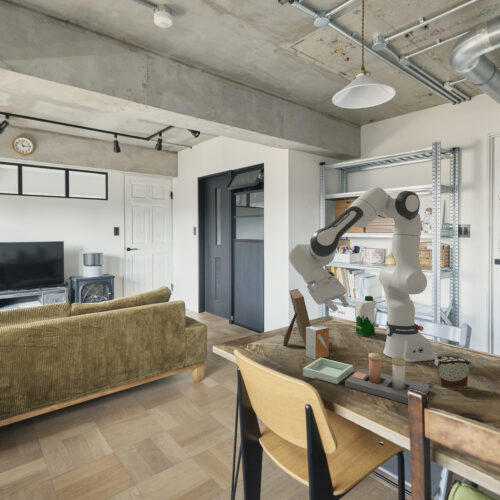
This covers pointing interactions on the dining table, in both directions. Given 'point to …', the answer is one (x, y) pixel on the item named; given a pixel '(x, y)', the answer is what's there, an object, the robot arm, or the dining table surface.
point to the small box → (317, 341)
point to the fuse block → (383, 386)
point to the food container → (452, 370)
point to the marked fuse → (375, 368)
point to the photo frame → (298, 316)
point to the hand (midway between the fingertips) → (341, 308)
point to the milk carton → (365, 316)
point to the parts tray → (327, 370)
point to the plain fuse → (398, 373)
